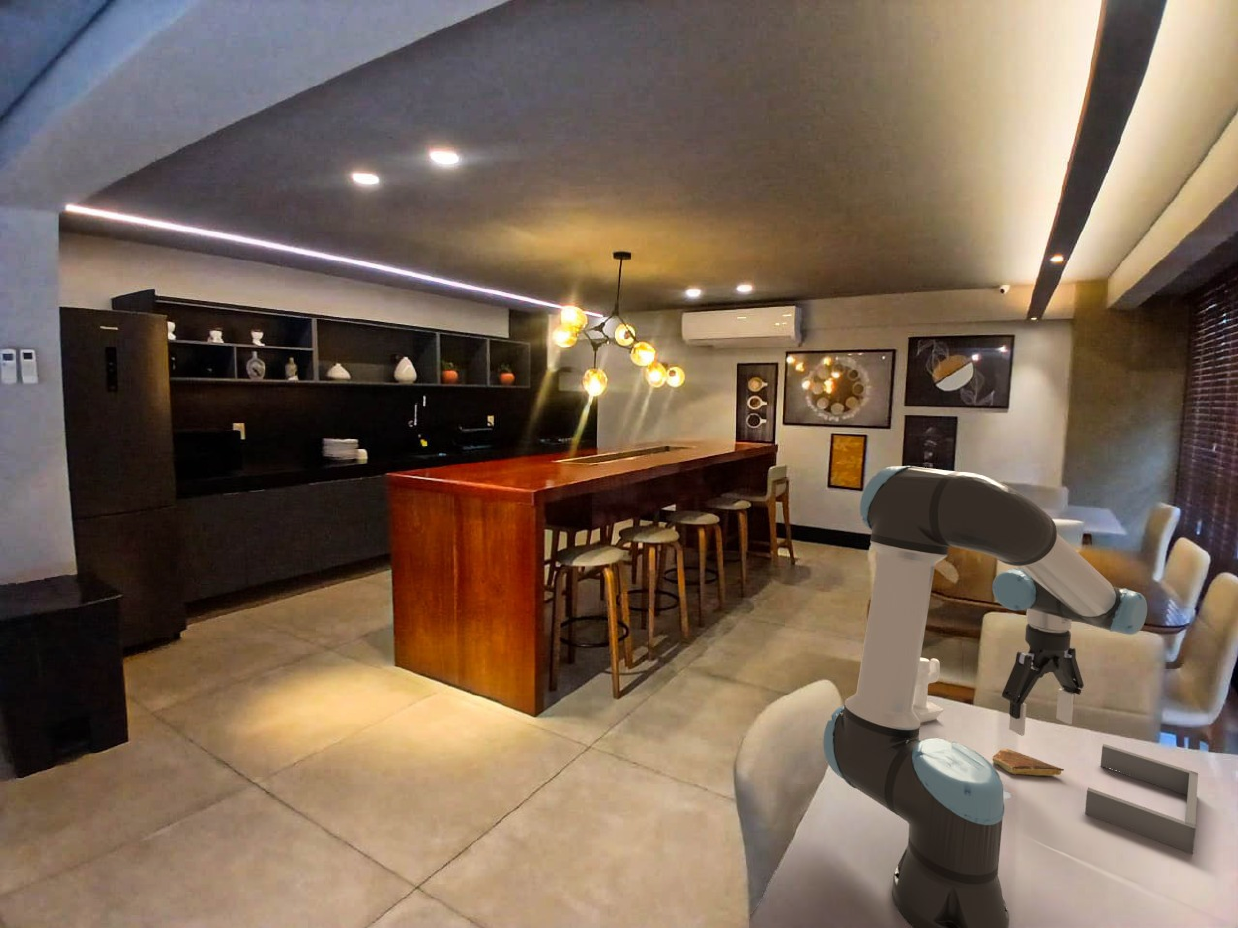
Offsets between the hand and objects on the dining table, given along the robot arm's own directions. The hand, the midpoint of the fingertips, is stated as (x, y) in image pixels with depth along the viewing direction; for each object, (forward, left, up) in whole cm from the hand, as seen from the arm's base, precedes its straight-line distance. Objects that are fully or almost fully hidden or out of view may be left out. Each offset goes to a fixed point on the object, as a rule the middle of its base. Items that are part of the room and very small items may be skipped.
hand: (1040, 726), depth 127 cm
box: (+8, -16, -9) cm, 19 cm away
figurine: (-8, +23, -9) cm, 26 cm away
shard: (+1, 0, -10) cm, 10 cm away
